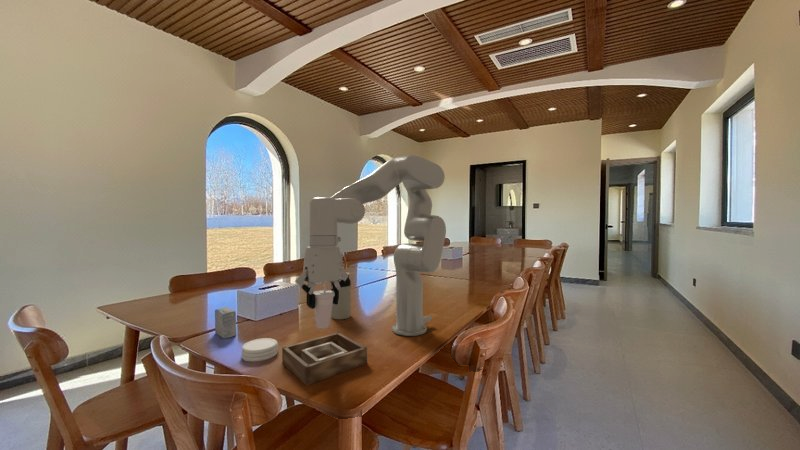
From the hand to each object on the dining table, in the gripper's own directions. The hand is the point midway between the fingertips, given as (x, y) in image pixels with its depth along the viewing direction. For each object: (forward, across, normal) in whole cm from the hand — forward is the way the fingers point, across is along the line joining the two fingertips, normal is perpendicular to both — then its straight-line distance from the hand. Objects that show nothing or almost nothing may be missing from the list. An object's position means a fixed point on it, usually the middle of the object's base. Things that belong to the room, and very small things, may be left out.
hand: (323, 304), depth 91 cm
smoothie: (+6, 0, 0) cm, 6 cm away
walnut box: (+17, -1, 0) cm, 17 cm away
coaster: (+17, +11, -18) cm, 27 cm away
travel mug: (+16, -26, -34) cm, 46 cm away
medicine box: (+17, +15, -43) cm, 49 cm away
